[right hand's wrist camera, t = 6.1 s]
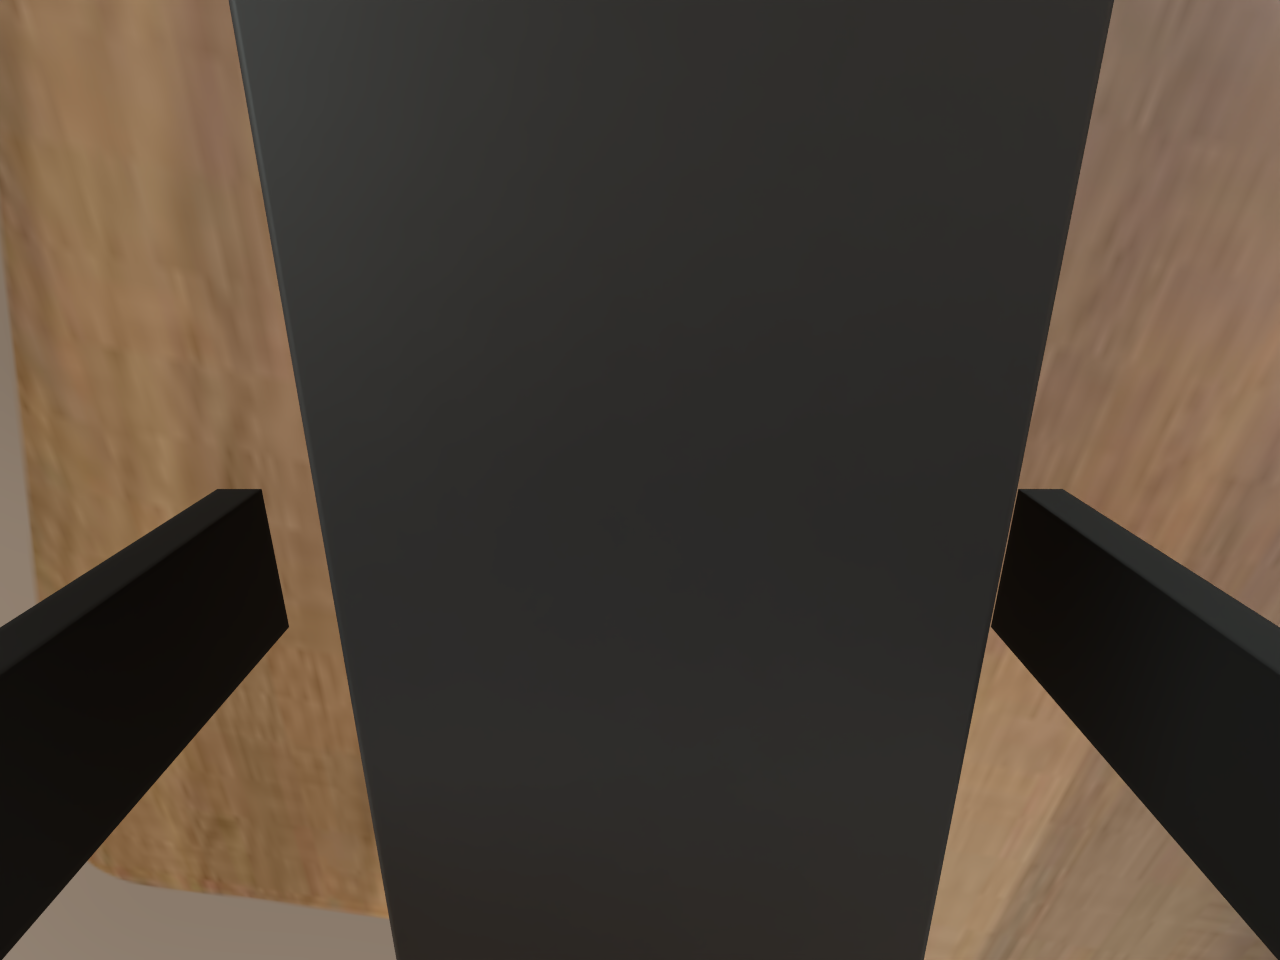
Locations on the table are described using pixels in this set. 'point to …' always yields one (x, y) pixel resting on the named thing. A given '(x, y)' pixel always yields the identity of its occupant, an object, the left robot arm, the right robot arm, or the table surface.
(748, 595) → the bar
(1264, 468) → the table surface
